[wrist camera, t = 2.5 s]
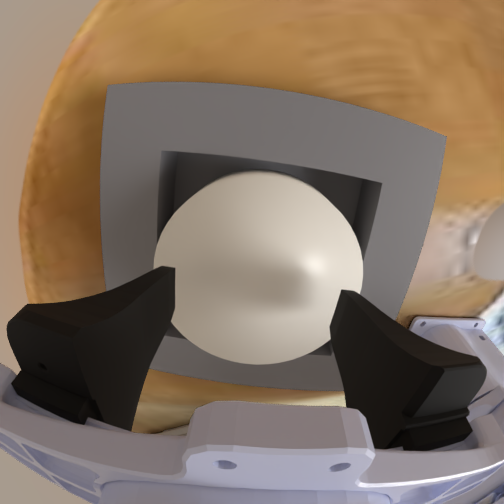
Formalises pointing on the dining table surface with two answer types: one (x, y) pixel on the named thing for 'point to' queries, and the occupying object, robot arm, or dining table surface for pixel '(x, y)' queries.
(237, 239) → the button cap
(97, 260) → the dining table surface
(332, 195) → the button housing
